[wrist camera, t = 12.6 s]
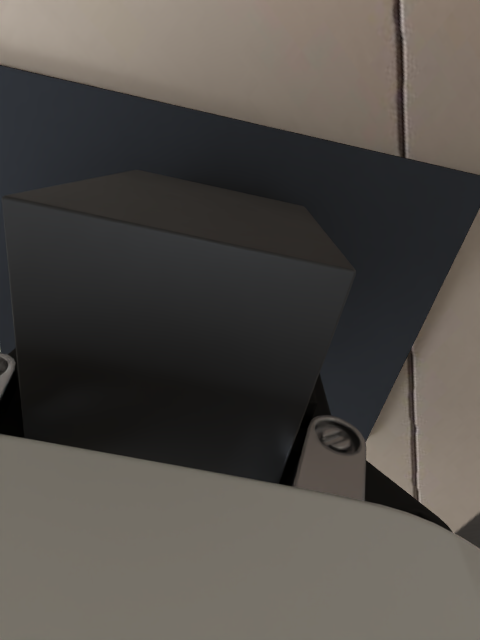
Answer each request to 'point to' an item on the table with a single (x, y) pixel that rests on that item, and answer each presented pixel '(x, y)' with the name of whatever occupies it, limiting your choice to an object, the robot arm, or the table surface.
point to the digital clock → (170, 319)
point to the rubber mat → (269, 182)
